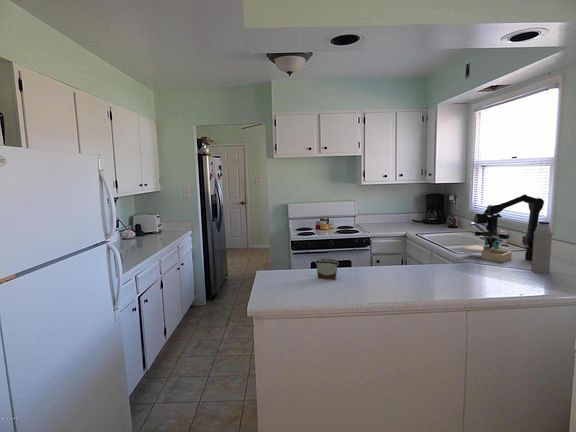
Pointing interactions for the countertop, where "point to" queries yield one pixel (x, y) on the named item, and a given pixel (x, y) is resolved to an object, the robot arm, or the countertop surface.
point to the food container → (326, 268)
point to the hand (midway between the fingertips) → (490, 247)
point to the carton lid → (479, 248)
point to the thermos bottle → (542, 248)
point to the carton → (496, 255)
